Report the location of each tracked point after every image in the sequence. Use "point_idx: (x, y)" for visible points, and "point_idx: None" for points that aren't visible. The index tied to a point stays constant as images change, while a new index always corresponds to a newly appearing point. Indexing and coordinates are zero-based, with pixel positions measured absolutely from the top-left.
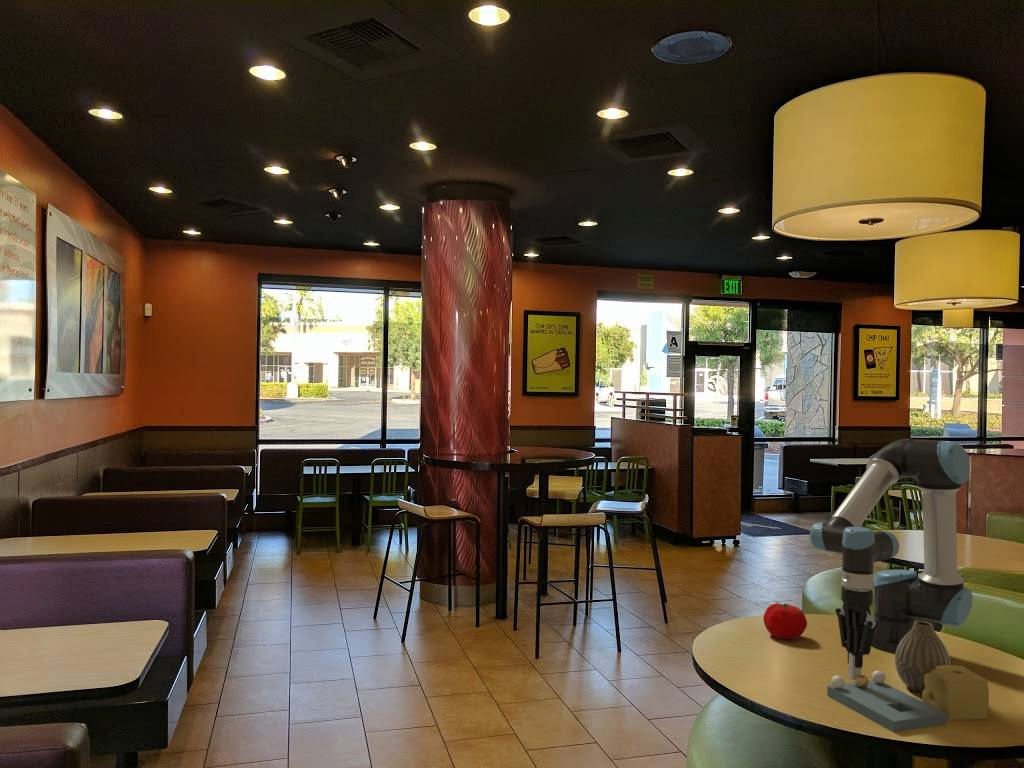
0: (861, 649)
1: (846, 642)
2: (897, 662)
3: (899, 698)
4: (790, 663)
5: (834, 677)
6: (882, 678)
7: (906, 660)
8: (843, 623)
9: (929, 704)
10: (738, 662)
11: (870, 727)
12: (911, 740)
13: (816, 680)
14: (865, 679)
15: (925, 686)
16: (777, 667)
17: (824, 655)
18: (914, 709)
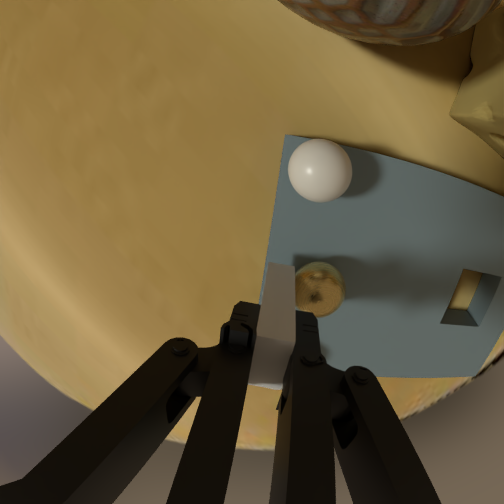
0: (348, 436)
1: (178, 388)
2: (319, 10)
3: (449, 241)
4: (34, 231)
5: (271, 388)
6: (350, 181)
7: (405, 20)
8: (107, 498)
9: (479, 134)
10: (35, 332)
11: (426, 382)
12: (495, 353)
13: (142, 272)
14: (341, 301)
15: (496, 123)
16: (53, 286)
17: (17, 88)
18: (498, 275)
